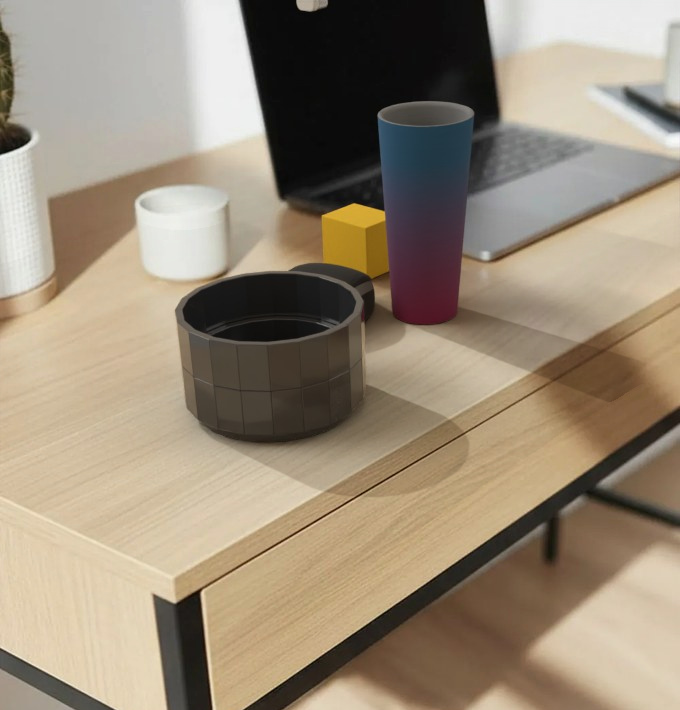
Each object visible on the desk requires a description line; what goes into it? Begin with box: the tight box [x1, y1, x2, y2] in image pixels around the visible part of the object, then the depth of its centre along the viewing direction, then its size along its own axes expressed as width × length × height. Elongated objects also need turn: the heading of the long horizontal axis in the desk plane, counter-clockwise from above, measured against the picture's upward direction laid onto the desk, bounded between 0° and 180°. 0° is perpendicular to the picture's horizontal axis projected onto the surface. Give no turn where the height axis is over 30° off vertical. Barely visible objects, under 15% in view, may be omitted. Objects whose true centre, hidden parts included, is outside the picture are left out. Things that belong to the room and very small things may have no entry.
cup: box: [377, 100, 475, 325], centre depth 89 cm, size 7×7×15 cm
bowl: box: [174, 270, 367, 443], centre depth 79 cm, size 12×12×7 cm
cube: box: [321, 202, 389, 280], centre depth 100 cm, size 5×4×4 cm
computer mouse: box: [287, 262, 376, 322], centre depth 90 cm, size 7×12×4 cm, turn 149°
